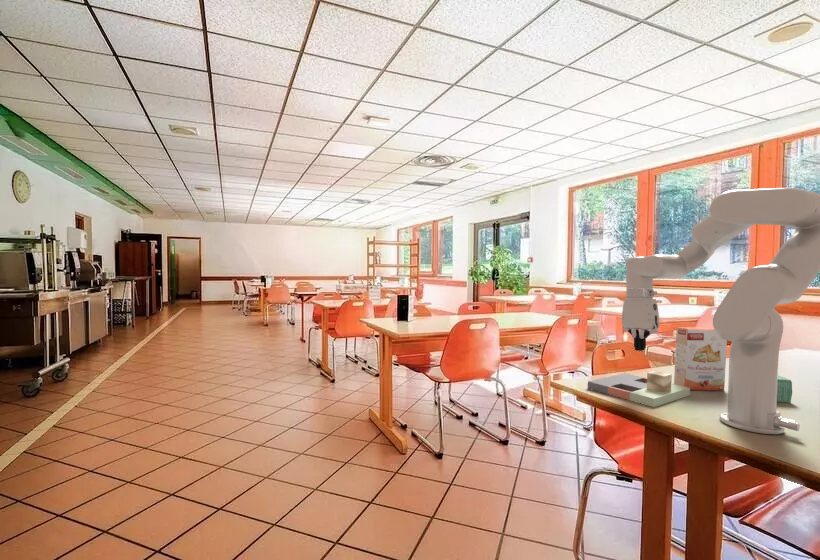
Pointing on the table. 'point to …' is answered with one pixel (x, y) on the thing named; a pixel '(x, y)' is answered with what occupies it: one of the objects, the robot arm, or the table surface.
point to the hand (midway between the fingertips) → (639, 350)
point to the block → (659, 381)
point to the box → (784, 390)
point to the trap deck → (637, 389)
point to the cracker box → (700, 359)
